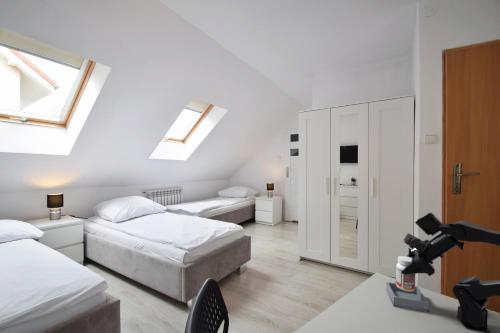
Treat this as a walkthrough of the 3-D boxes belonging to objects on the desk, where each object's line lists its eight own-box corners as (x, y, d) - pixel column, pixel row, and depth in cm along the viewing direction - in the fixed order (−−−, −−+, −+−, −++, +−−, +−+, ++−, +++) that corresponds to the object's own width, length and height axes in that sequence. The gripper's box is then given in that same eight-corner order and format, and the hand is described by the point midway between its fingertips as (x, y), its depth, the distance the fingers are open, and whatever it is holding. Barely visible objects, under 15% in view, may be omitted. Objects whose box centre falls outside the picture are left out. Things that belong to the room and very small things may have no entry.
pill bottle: (417, 288, 92) (418, 259, 91) (410, 294, 88) (411, 263, 88) (399, 281, 97) (400, 254, 96) (392, 286, 93) (393, 257, 93)
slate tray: (417, 294, 97) (417, 286, 97) (428, 312, 87) (429, 302, 86) (386, 290, 100) (386, 281, 100) (393, 306, 90) (393, 296, 90)
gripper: (415, 222, 98) (384, 244, 103) (423, 235, 81) (385, 261, 87) (439, 244, 95) (405, 266, 100) (452, 263, 78) (411, 288, 84)
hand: (401, 269), depth 93 cm, fingers closed on pill bottle, 6 cm apart
